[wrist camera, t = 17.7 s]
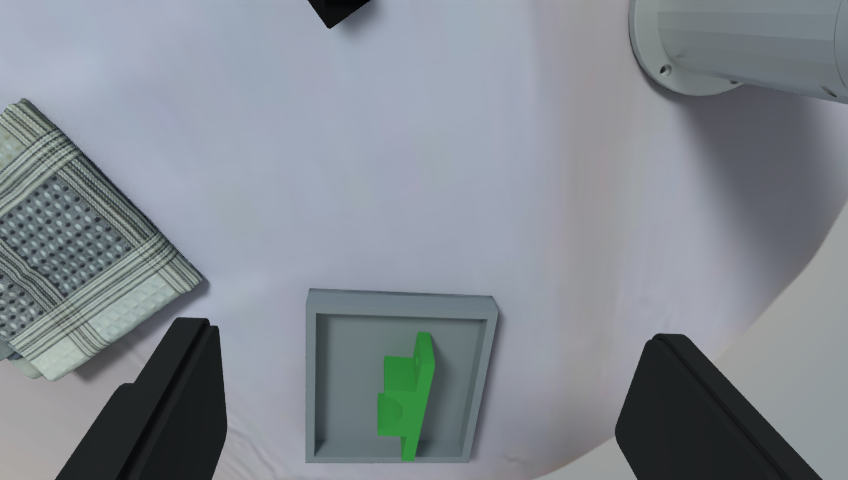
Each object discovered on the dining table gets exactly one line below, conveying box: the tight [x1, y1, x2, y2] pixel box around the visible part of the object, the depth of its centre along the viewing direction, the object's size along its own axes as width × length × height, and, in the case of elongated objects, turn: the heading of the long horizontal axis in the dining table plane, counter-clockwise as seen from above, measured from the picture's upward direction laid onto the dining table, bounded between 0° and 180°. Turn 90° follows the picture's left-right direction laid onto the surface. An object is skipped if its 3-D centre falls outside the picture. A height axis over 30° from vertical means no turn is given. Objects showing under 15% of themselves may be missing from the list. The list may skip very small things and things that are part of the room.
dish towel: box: [0, 98, 203, 381], centre depth 37 cm, size 19×18×3 cm
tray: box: [306, 289, 498, 463], centre depth 45 cm, size 16×18×2 cm
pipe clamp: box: [377, 332, 435, 461], centre depth 44 cm, size 11×4×5 cm, turn 170°
